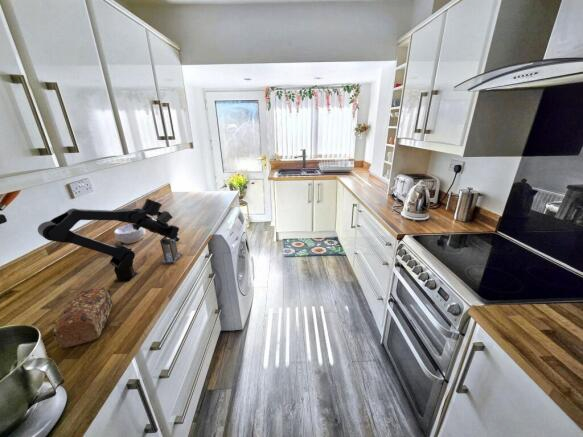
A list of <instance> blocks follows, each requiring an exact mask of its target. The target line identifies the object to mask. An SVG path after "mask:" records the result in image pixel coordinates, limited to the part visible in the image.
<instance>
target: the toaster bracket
mask: <svg viewBox="0 0 583 437" xmlns="http://www.w3.org/2000/svg"><path fill="white" fill-rule="evenodd" d="M165 239H169V240H168V242H169V245H164V240H165ZM159 244H160V246H161V250H162V255H163V260H162V261H161V265H174V264H176V263H177V261H178V260H179V259H180V258H181V257H182V256H183V252H179V250H178V246H177V242H176V241H175V239H170V238H168V237H165V236H163V237H162V238H161V239H160V240H159Z"/></svg>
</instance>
